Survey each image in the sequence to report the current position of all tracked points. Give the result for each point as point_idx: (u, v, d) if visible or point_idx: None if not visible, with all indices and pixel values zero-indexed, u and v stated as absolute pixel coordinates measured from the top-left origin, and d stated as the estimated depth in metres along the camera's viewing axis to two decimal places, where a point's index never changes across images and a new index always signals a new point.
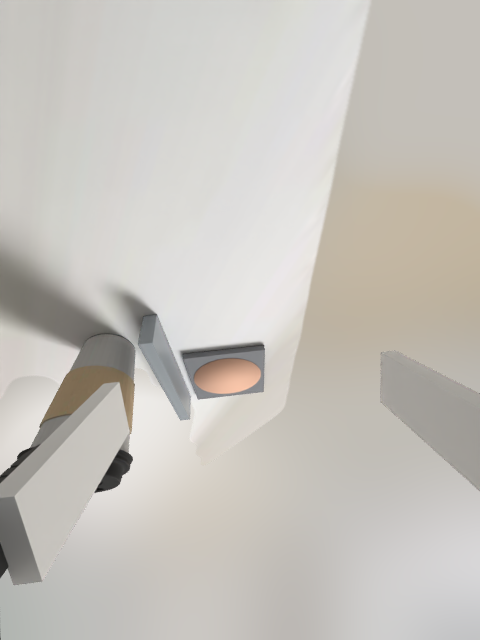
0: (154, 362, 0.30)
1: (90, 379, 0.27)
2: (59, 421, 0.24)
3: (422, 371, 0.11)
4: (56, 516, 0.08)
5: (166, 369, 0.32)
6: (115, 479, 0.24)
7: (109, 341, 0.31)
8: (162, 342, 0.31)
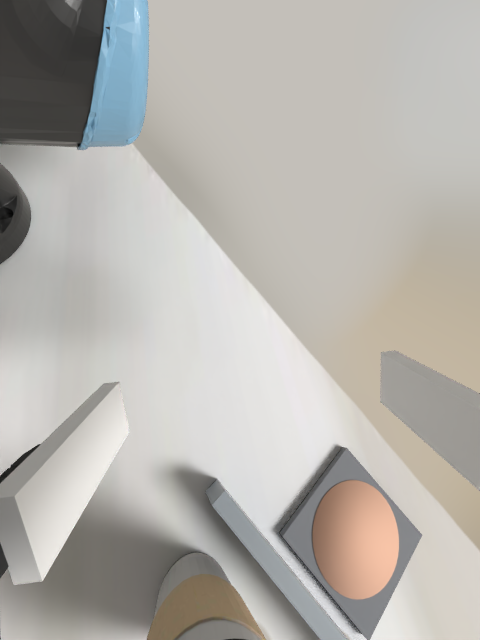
0: (245, 532, 0.22)
1: (177, 598, 0.18)
2: None
3: (422, 371, 0.11)
4: (56, 516, 0.08)
5: (267, 541, 0.23)
6: None
7: (184, 560, 0.23)
8: None
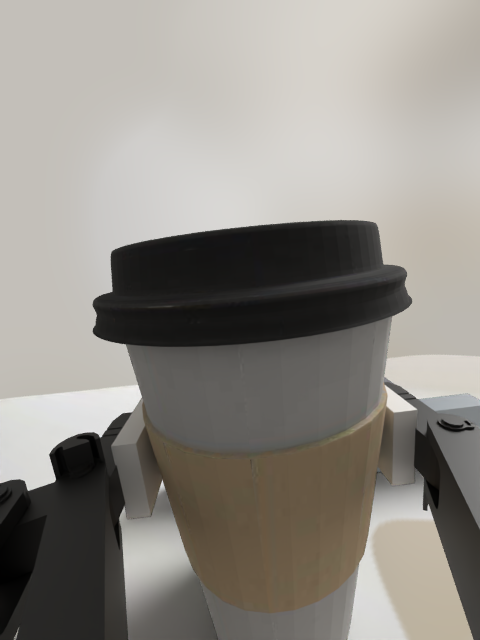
0: None
1: None
2: None
3: None
4: (153, 467, 0.09)
5: None
6: None
7: None
8: None
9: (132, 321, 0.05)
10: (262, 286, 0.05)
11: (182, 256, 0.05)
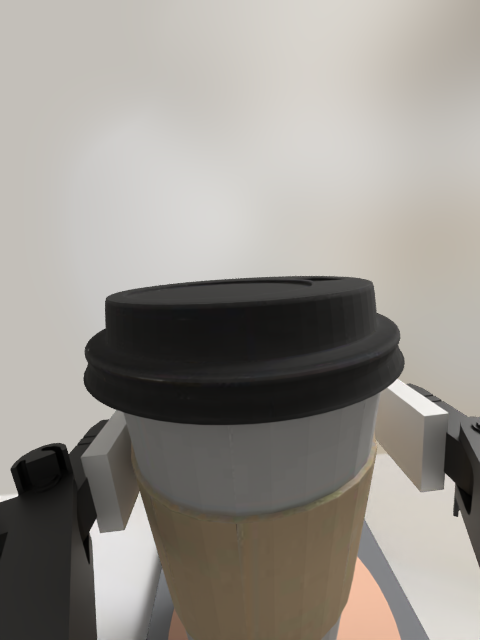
0: None
1: None
2: None
3: None
4: (129, 477, 0.09)
5: None
6: None
7: None
8: None
9: (122, 386, 0.05)
10: (254, 361, 0.05)
11: (175, 325, 0.05)
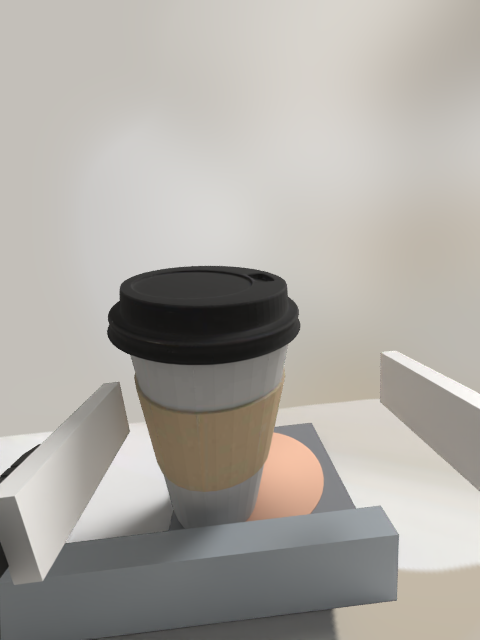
0: None
1: None
2: None
3: (422, 371, 0.11)
4: (56, 516, 0.08)
5: None
6: (207, 266, 0.17)
7: None
8: None
9: (137, 344, 0.10)
10: (206, 335, 0.10)
11: (165, 315, 0.10)
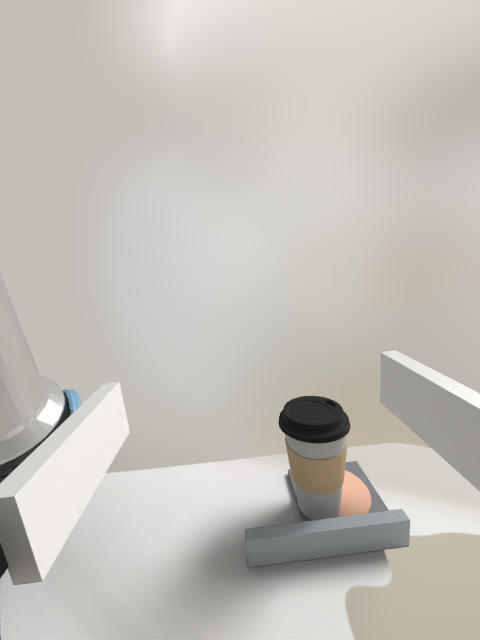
0: (273, 532, 0.33)
1: None
2: (289, 444, 0.36)
3: (422, 371, 0.11)
4: (56, 516, 0.08)
5: (288, 525, 0.34)
6: None
7: None
8: None
9: (305, 438, 0.33)
10: (326, 432, 0.33)
11: (313, 428, 0.33)
